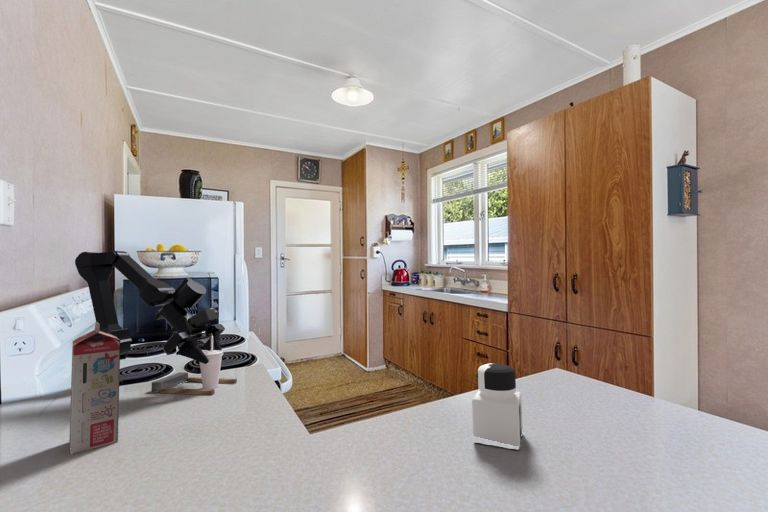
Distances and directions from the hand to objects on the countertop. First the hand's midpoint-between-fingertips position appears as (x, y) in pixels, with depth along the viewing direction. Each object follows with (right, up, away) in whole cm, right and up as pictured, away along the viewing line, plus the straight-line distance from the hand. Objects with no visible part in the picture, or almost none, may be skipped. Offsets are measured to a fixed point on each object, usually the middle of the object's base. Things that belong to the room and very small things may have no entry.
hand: (215, 359), depth 98 cm
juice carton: (-7, -6, -32) cm, 34 cm away
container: (+68, -5, -34) cm, 76 cm away
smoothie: (-1, -8, 0) cm, 8 cm away
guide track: (-6, -8, +1) cm, 10 cm away
